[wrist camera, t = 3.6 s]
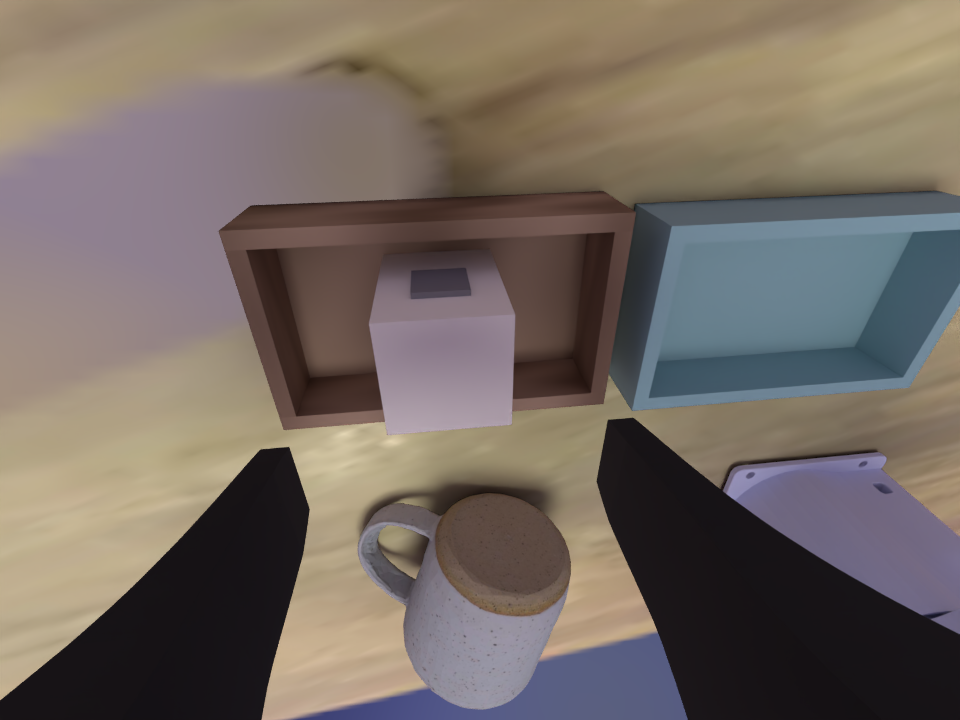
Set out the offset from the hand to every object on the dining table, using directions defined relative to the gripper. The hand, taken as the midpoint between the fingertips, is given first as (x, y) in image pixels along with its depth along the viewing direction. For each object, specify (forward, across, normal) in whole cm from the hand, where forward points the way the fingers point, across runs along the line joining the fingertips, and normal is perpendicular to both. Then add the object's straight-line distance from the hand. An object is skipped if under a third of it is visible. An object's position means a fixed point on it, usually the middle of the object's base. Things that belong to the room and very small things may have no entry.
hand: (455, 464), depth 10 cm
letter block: (+9, 0, 0) cm, 9 cm away
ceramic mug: (+10, 0, +15) cm, 18 cm away
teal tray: (+9, -14, 0) cm, 17 cm away
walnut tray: (+9, 0, 0) cm, 9 cm away
